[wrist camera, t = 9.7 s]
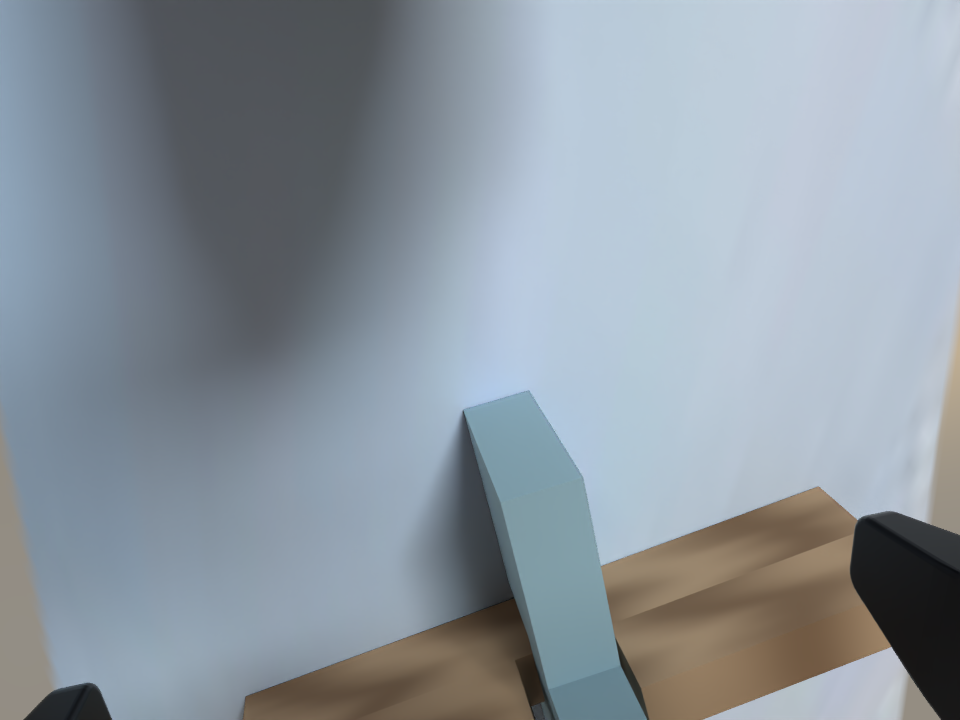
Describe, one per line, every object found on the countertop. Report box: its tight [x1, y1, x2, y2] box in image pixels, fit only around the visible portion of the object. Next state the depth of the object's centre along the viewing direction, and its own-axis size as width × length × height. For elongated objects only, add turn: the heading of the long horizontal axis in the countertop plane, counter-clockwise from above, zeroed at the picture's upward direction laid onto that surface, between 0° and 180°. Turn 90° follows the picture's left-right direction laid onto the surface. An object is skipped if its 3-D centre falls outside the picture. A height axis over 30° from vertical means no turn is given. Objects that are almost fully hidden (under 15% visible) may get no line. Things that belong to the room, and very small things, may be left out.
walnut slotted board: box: [243, 487, 891, 720], centre depth 23 cm, size 20×2×5 cm, turn 106°
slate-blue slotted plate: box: [464, 391, 647, 720], centre depth 22 cm, size 16×2×8 cm, turn 13°
